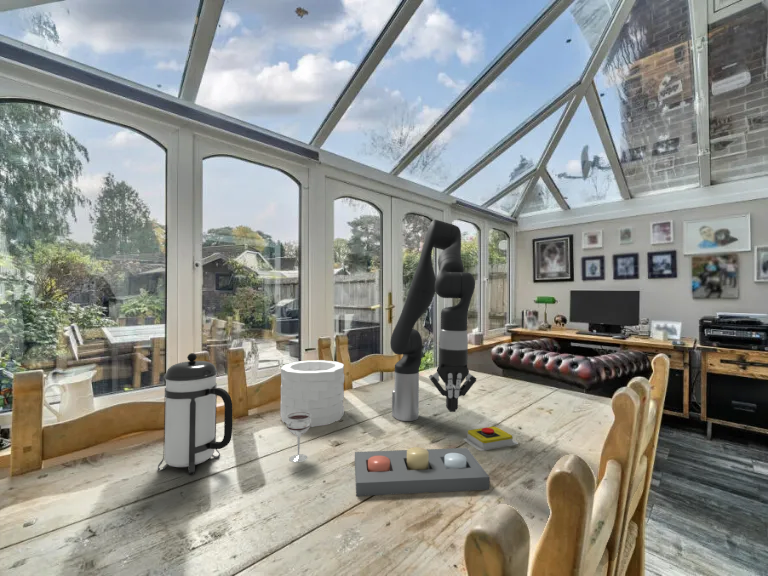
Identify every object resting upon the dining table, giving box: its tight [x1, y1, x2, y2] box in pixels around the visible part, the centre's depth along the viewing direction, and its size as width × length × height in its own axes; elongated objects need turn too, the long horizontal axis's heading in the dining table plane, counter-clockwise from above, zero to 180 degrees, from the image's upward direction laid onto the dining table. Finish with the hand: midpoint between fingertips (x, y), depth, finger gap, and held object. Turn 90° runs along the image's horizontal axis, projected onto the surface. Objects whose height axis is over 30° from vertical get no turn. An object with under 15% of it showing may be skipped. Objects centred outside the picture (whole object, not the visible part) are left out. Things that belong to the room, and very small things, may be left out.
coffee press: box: [157, 353, 234, 476], centre depth 96 cm, size 17×16×30 cm
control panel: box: [354, 447, 490, 497], centre depth 91 cm, size 32×16×3 cm, turn 96°
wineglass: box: [286, 412, 311, 463], centre depth 100 cm, size 7×7×12 cm
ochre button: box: [406, 446, 429, 470], centre depth 91 cm, size 6×6×4 cm
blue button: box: [444, 453, 466, 469], centre depth 92 cm, size 6×6×4 cm
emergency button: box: [463, 426, 519, 452], centre depth 113 cm, size 9×4×15 cm
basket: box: [279, 359, 345, 428], centre depth 134 cm, size 25×24×19 cm
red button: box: [367, 456, 390, 472], centre depth 90 cm, size 6×6×4 cm
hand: (451, 410), depth 95 cm, fingers closed
